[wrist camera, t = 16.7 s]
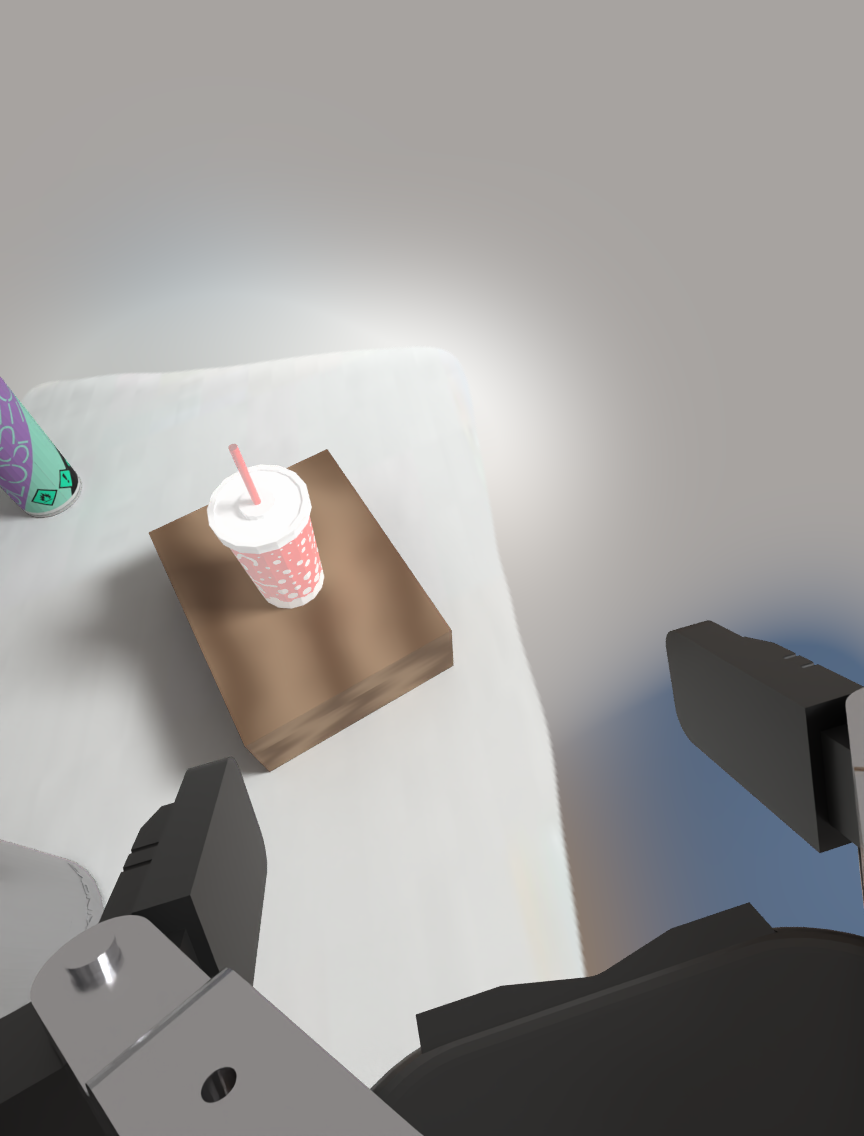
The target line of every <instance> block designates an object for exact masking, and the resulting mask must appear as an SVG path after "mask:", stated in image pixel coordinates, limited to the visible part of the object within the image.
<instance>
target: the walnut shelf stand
mask: <svg viewBox="0 0 864 1136" xmlns="http://www.w3.org/2000/svg"><path fill="white" fill-rule="evenodd" d="M286 469H288V470H291V471H293V472H295V473H296V474H297V475H298V476H299V477H300V478H301V479H302V480H303V481H304V483H305V484H306V486H307V490H308V494H309V498H310V502H311V506H312V508H311V512H310V519H311V523H312V528H313V532H314V536H315V540H316V544H317V548H318V553H319V557H320V561H321V565H322V569H323V574H324V580H323V585H322V588H321V590H320V591H319V592H318V594H317V595H316V597H315V598H314V599H312V600H311V601H309V602H308V603H306V604H305V605H302V606H299V607H295V608H279V607H277V606H275V605H273V604H270V603H268V601H267V600H266V599H265V598H264V596H263V595H262V594H261V592H260V591H259V589H258V588H257V587H256V585H255V584H254V582H253V581H252V579H251V578H250V576H249V575H248V574H247V572H246V571H245V569H244V568H243V566H242V565H241V563H240V562H239V561H238V559H237V558H236V556H235V555H234V553H233V552H232V550H231V549H230V548H229V547H227V546H225V545H223V543H222V542H221V541H220V539H219V538H218V537H217V536H216V534H215V533H214V531H213V530H212V529H211V527H210V526H209V521H208V514H207V507H208V505H207V506H205V507H202V508H200V509H198V510H196V511H194V512H192V513H190V514H187V515H185V516H183V517H181V518H179V519H177V520H175V521H173V522H170V523H168V524H166V525H164V526H162V527H160V528H158V529H155V530H153V531H151V532H149V535H150V537H151V539H152V541H153V544H154V546H155V548H156V550H157V553H158V555H159V557H160V559H161V561H162V564H163V566H164V568H165V570H166V573H167V575H168V577H169V579H170V581H171V584H172V586H173V588H174V590H175V593H176V595H177V597H178V599H179V601H180V604H181V606H182V608H183V610H184V613H185V615H186V617H187V619H188V621H189V624H190V626H191V628H192V630H193V633H194V635H195V637H196V639H197V641H198V644H199V646H200V648H201V650H202V653H203V655H204V657H205V659H206V661H207V664H208V666H209V668H210V670H211V673H212V675H213V677H214V679H215V681H216V684H217V686H218V688H219V690H220V693H221V695H222V697H223V699H224V701H225V704H226V706H227V708H228V710H229V713H230V715H231V717H232V719H233V721H234V724H235V726H236V728H237V730H238V733H239V735H240V737H241V739H242V741H243V744H244V746H245V747H246V748H247V749H248V750H249V751H250V752H251V753H252V754H253V756H254V757H255V758H256V759H257V760H258V761H259V762H260V763H261V764H262V765H263V766H264V767H265V768H266V769H267V770H268V771H269V772H271V771H272V770H274V769H276V768H277V767H279V766H281V765H283V764H284V763H286V762H288V761H290V760H291V759H293V758H295V757H296V756H298V755H300V754H302V753H303V752H305V751H307V750H309V749H310V748H312V747H314V746H315V745H317V744H319V743H321V742H322V741H324V740H326V739H328V738H329V737H331V736H333V735H334V734H336V733H338V732H340V731H341V730H343V729H345V728H346V727H348V726H350V725H352V724H353V723H355V722H357V721H359V720H360V719H362V718H364V717H365V716H367V715H369V714H371V713H372V712H374V711H376V710H378V709H379V708H381V707H383V706H384V705H386V704H388V703H390V702H391V701H393V700H395V699H397V698H398V697H400V696H402V695H403V694H405V693H407V692H409V691H410V690H412V689H414V688H416V687H417V686H419V685H421V684H422V683H424V682H426V681H428V680H429V679H431V678H433V677H435V676H436V675H438V674H440V673H441V672H443V671H445V670H447V669H448V668H450V667H452V666H453V648H452V630H451V629H450V627H449V626H448V624H447V623H446V621H445V620H444V618H443V617H442V616H441V614H440V613H439V611H438V610H437V608H436V607H435V605H434V604H433V602H432V601H431V600H430V598H429V597H428V595H427V594H426V592H425V591H424V589H423V588H422V586H421V585H420V584H419V582H418V581H417V579H416V578H415V576H414V575H413V573H412V572H411V570H410V569H409V568H408V566H407V565H406V563H405V562H404V560H403V559H402V557H401V556H400V554H399V553H398V552H397V550H396V549H395V547H394V546H393V544H392V543H391V541H390V540H389V538H388V537H387V535H386V534H385V533H384V531H383V530H382V528H381V527H380V525H379V524H378V522H377V521H376V519H375V518H374V517H373V515H372V514H371V512H370V511H369V509H368V508H367V506H366V505H365V503H364V502H363V501H362V499H361V498H360V496H359V495H358V493H357V492H356V490H355V489H354V487H353V486H352V485H351V483H350V482H349V480H348V479H347V477H346V476H345V474H344V473H343V471H342V470H341V469H340V467H339V466H338V464H337V463H336V461H335V460H334V458H333V457H332V455H331V454H330V452H329V451H328V450H327V449H326V450H324V451H322V452H320V453H318V454H316V455H314V456H311V457H309V458H307V459H305V460H303V461H301V462H299V463H296V464H294V465H292V466H290V467H288V468H286Z"/></svg>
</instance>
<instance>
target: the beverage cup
mask: <svg viewBox="0 0 864 1136" xmlns="http://www.w3.org/2000/svg"><path fill="white" fill-rule="evenodd" d="M229 451H230V453H231V455H232V457H233V459H234V462H235V464H236V466H237V468H238V470H239V471H238V472H236V473H234V474H233V475H231V476H229V477H228V478H226V479H224V480H223V482H222V483H221V484H220V485H219V486H218V487H217V489H216V490H215V491H214V492H213V493H212V496H211V499H210V502H209V504H208V507H207V514H208V521H209V526H210V527H211V529H212V530H213V531H214V533H215V534H216V536H217V537H218V538H219V539H220V541H221V542H222V543H223V545H225V546H227V547H229V548H230V549H231V550H232V552H233V553H234V555H235V556H236V558H237V559H238V561H239V562H240V563H241V565H242V566H243V568H244V569H245V571H246V572H247V574H248V575H249V576H250V578H251V579H252V581H253V582H254V584H255V585H256V587H257V588H258V589H259V591H260V592H261V594H262V595H263V596H264V598H265V599H266V600H267V601H268V603H270V604H273V605H275V606H277V607H279V608H295V607H299V606H302V605H305V604H306V603H308V602H309V601H311V600H312V599H314V598H315V597H316V595H317V594H318V592H319V591H320V590H321V588H322V585H323V580H324V574H323V569H322V565H321V561H320V557H319V553H318V548H317V544H316V540H315V536H314V532H313V528H312V523H311V519H310V512H311V508H312V506H311V502H310V498H309V494H308V490H307V486H306V484H305V483H304V481H303V480H302V479H301V478H300V477H299V476H298V475H297V474H296V473H295V472H293V471H291V470H288V469H286V468H284V467H281V466H278V465H257V466H253V467H249V468H247V467H246V465H245V462H244V460H243V458H242V456H241V453H240V451H239V449H238V446H237V445H236V444H231V445H230V446H229Z"/></svg>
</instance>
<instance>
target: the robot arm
mask: <svg viewBox="0 0 864 1136" xmlns="http://www.w3.org/2000/svg"><path fill="white" fill-rule="evenodd" d="M666 649H667V656H668V662H669V669H670V675H671V682H672V688H673V694H674V701H675V707H676V713H677V716H678V719H679V722H680V724H681V727H682V729H683V731H684V732H685V734H686V735H687V737H688V738H689V740H690V741H691V742H692V743H693V744H694V745H695V746H697V747H698V748H699V749H700V750H701V751H702V752H704V753H705V754H706V755H707V756H708V757H709V758H710V759H712V760H713V761H714V762H715V763H716V764H717V765H719V766H720V767H721V768H722V769H723V770H724V771H725V772H727V773H728V774H729V775H730V776H731V777H732V778H734V779H735V780H736V781H737V782H738V783H739V784H741V785H742V786H743V787H744V788H745V789H746V790H748V791H749V792H750V793H751V794H752V795H753V796H754V797H756V798H757V799H758V800H759V801H760V802H761V803H762V804H764V805H765V806H766V807H767V808H768V809H769V810H771V811H772V812H773V813H774V814H775V815H776V816H778V817H779V818H780V819H781V820H782V821H783V822H785V823H786V824H787V825H788V826H789V827H790V828H791V829H792V830H794V831H795V832H796V833H797V834H798V835H800V836H801V837H802V838H803V839H804V840H805V841H807V843H809V844H810V845H811V846H812V847H813V848H815V849H816V850H817V851H818V852H819V853H821V852H824V851H828V850H831V849H834V848H837V847H840V846H843V845H846V844H849V843H852V842H853V843H854V844H855V845H856V846H858V855H859V866H860V876H861V885H862V894H863V904H864V687H863V686H861V685H859V684H857V683H855V682H853V681H851V680H849V679H847V678H845V677H843V676H840V675H839V674H837V673H835V672H833V671H831V670H829V669H826V668H824V667H822V666H820V665H818V664H817V665H814V663H813V662H812V661H810V660H808V659H806V658H804V657H802V656H800V655H799V656H796V654H795V653H794V652H792V651H790V650H788V649H785V648H783V647H781V646H779V645H777V644H775V643H772V642H767V641H763V640H758V639H753V638H748V637H742V636H740V635H738V634H736V633H734V632H732V631H730V630H728V629H726V628H724V627H722V626H720V625H718V624H716V623H714V622H712V621H704V622H700V623H697V624H693V625H690V626H686V627H683V628H679V629H676V630H673V631H670V632H668V634H667V637H666ZM131 851H132V853H131V854H129V856H128V858H127V860H126V862H125V865H124V867H123V870H124V872H121V874H120V876H119V878H118V880H117V882H116V885H115V887H114V889H113V891H112V894H111V896H110V898H109V900H108V903H107V905H106V907H105V909H103V903H102V897H101V893H100V891H99V889H98V886H97V884H96V882H95V880H94V879H93V877H92V876H91V875H90V874H89V872H88V871H87V870H86V869H84V868H83V867H82V866H80V865H79V864H77V863H76V862H73V861H70V860H68V859H65V858H62V857H58V856H55V855H51V854H48V853H44V852H41V851H38V850H35V849H32V848H28V847H25V846H21V845H18V844H14V843H11V842H7V841H4V840H0V1136H864V937H862V936H859V935H855V934H851V933H846V932H840V931H834V930H828V929H819V928H807V927H779V928H778V927H777V928H772V927H771V926H770V925H769V924H768V923H767V922H766V921H765V919H764V918H763V917H762V916H761V915H760V914H759V913H758V911H756V909H755V908H754V907H753V906H752V905H751V904H750V903H746V904H743V905H740V906H737V907H734V908H731V909H728V910H725V911H722V912H719V913H716V914H713V915H710V916H707V917H704V918H702V919H698V920H695V921H692V922H690V923H687V924H683V925H681V926H678V927H675V928H672V929H670V930H668V931H666V932H665V933H663V934H662V935H660V936H659V937H657V938H656V939H654V940H653V941H651V942H649V943H648V944H646V945H645V946H643V947H642V948H640V949H638V950H637V951H635V952H634V953H632V954H631V955H629V956H628V957H626V958H624V959H623V960H621V961H620V962H618V963H617V964H615V965H613V966H612V967H610V968H609V969H607V970H606V971H604V972H602V973H600V974H598V975H595V976H591V977H585V978H575V979H565V980H555V981H545V982H535V983H525V984H515V985H505V986H499V987H496V988H493V989H491V990H488V991H485V992H482V993H479V994H476V995H473V996H470V997H467V998H464V999H461V1000H458V1001H455V1002H452V1003H449V1004H446V1005H443V1006H440V1007H437V1008H434V1009H431V1010H428V1011H425V1012H422V1013H419V1014H416V1019H417V1026H418V1032H419V1038H420V1045H421V1047H420V1048H418V1049H417V1050H415V1051H414V1052H412V1053H411V1054H409V1055H408V1056H406V1057H405V1058H404V1059H403V1060H401V1061H400V1062H399V1063H398V1064H396V1065H395V1066H394V1067H393V1068H391V1069H390V1070H389V1071H388V1072H387V1073H386V1074H385V1075H384V1076H383V1077H382V1078H381V1079H380V1080H379V1081H378V1082H377V1083H376V1084H375V1085H374V1086H373V1087H372V1088H371V1089H369V1088H368V1087H367V1086H365V1085H364V1084H363V1083H362V1082H361V1081H360V1080H359V1079H357V1078H356V1077H355V1076H354V1075H353V1074H352V1073H351V1072H349V1071H348V1070H347V1069H346V1068H345V1067H344V1066H343V1065H341V1064H340V1063H339V1062H338V1061H337V1060H336V1059H335V1058H333V1057H332V1056H331V1055H330V1054H329V1053H328V1052H327V1051H325V1050H324V1049H323V1048H322V1047H321V1046H320V1045H319V1044H317V1043H316V1042H315V1041H314V1040H313V1039H312V1038H311V1037H309V1036H308V1035H307V1034H306V1033H305V1032H304V1031H303V1030H301V1029H300V1028H299V1027H298V1026H297V1025H296V1024H295V1023H293V1022H292V1021H291V1020H290V1019H289V1018H288V1017H287V1016H286V1015H284V1014H283V1013H282V1012H281V1011H280V1010H279V1009H278V1008H276V1007H275V1006H274V1005H273V1004H272V1003H271V1002H270V1001H268V1000H267V999H266V998H265V997H264V996H263V995H262V994H260V993H259V992H258V991H257V990H256V989H255V988H254V987H253V981H254V973H255V964H256V956H257V948H258V940H259V932H260V924H261V916H262V908H263V900H264V892H265V883H266V875H267V858H266V851H265V845H264V841H263V837H262V833H261V830H260V827H259V824H258V821H257V819H256V816H255V813H254V810H253V807H252V804H251V801H250V798H249V795H248V792H247V789H246V786H245V783H244V780H243V777H242V774H241V772H240V769H239V766H238V764H237V762H236V761H235V759H234V758H233V757H228V758H225V759H221V760H218V761H214V762H211V763H207V764H204V765H200V766H197V767H194V768H190V769H188V770H187V772H186V774H185V776H184V779H183V781H182V784H181V787H180V789H179V792H178V794H177V797H176V799H175V802H174V803H171V804H168V805H165V806H161V807H160V808H159V810H158V811H157V812H156V813H155V814H154V815H153V816H152V817H151V818H150V819H149V820H148V821H147V822H146V823H145V824H144V825H143V826H142V828H141V829H140V831H139V833H138V836H137V838H136V840H135V842H134V844H133V847H132V849H131Z"/></svg>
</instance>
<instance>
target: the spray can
mask: <svg viewBox="0 0 864 1136" xmlns="http://www.w3.org/2000/svg"><path fill="white" fill-rule="evenodd" d="M0 487H1V488H2V489H3V490H4V491H5V492H6V493H7V494H8V495H9V496H10V497H11V498H12V499H13V500H14V501H15V502H16V503H17V504H18V505H19V506H20V508H22V509H23V510H24V511H25V512H26V513H27V514H29V515H31V516H34V517H50V516H53V515H56V514H59V513H61V512H63V511H64V510H66V509H67V508H69V507H70V506H71V505H72V504H73V503H74V502H75V501H76V500H77V498H78V497H79V495H80V492H81V488H82V483H81V480H80V478H79V477H78V475H77V473H76V472H75V471H74V470H73V468H72V467H71V466H70V464H69V463H68V462H67V461H66V459H65V458H64V457H63V456H62V454H61V453H60V452H59V451H58V449H57V448H56V447H55V445H54V444H53V443H52V442H51V440H50V439H49V438H48V437H47V435H46V434H45V433H44V431H43V430H42V429H41V428H40V426H39V425H38V424H37V423H36V421H35V420H34V419H33V417H32V416H31V415H30V414H29V412H28V411H27V410H26V409H25V407H24V406H23V405H22V403H21V402H20V401H19V400H18V399H17V397H16V396H15V395H14V393H13V392H12V391H11V390H10V388H9V387H8V386H7V384H5V382H4V381H3V380H2V378H1V377H0Z"/></svg>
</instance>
